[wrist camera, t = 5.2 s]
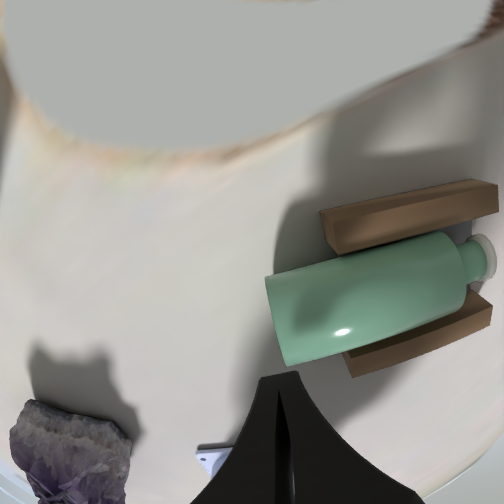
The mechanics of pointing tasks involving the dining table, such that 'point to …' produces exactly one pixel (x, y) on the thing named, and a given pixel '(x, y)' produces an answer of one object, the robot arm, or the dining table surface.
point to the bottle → (374, 293)
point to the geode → (70, 456)
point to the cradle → (401, 227)
